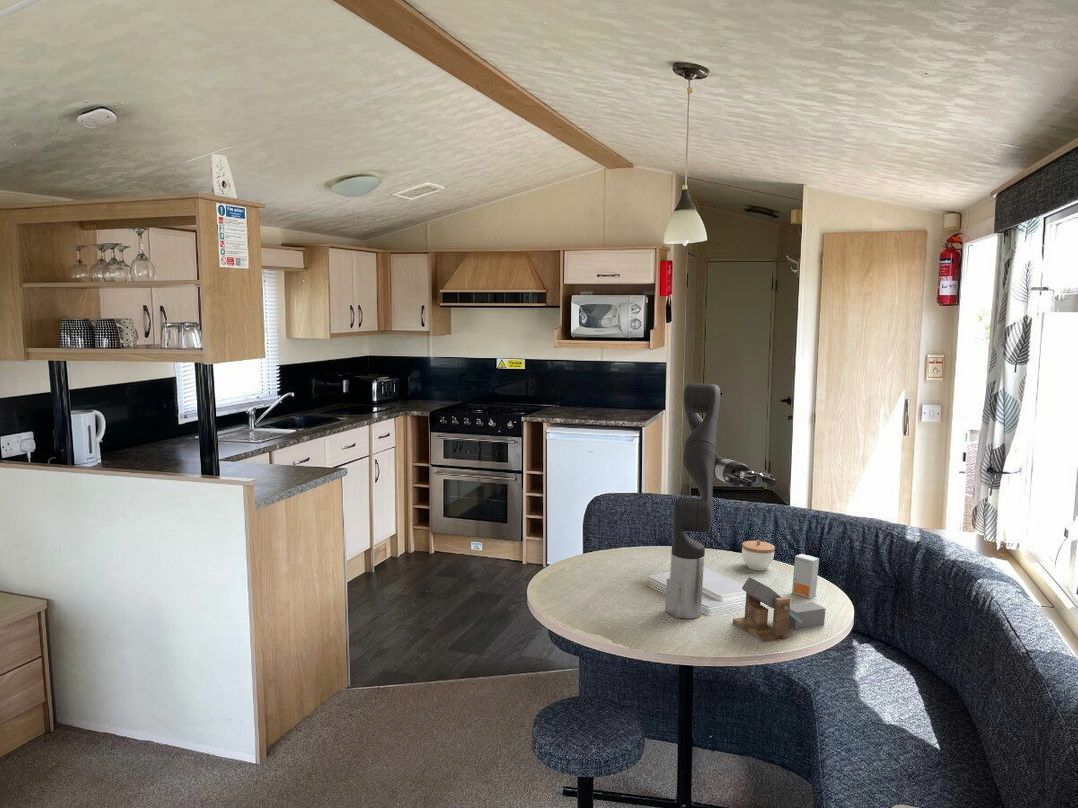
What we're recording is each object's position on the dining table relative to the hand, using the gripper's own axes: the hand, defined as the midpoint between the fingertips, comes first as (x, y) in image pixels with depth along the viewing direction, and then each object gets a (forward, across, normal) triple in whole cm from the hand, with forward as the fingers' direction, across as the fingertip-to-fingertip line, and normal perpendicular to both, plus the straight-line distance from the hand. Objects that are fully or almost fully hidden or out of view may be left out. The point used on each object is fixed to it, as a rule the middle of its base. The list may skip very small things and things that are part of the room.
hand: (763, 484), depth 246 cm
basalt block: (+24, -7, +32) cm, 41 cm away
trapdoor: (+25, -14, +28) cm, 40 cm away
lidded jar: (-20, +16, +35) cm, 43 cm away
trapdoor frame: (+25, -17, +34) cm, 45 cm away
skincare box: (+6, +14, +34) cm, 38 cm away
